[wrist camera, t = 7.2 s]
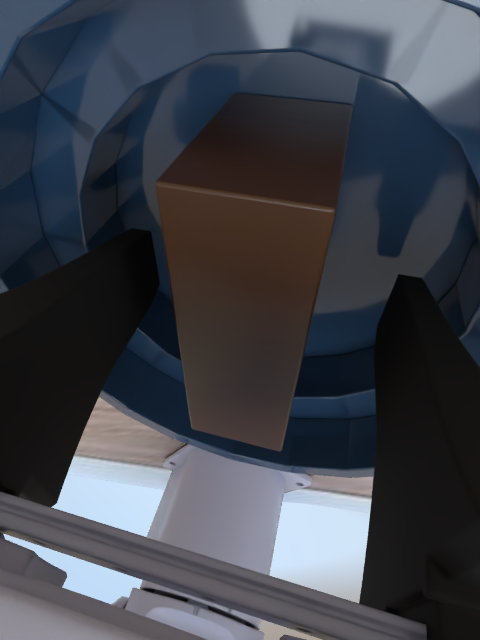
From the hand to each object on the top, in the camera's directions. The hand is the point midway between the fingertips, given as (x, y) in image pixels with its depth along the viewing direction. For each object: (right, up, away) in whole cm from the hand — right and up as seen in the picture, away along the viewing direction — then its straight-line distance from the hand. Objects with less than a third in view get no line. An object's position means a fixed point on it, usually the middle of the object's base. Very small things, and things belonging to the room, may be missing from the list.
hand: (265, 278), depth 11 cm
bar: (0, +1, +1) cm, 2 cm away
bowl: (+1, +2, +2) cm, 3 cm away
